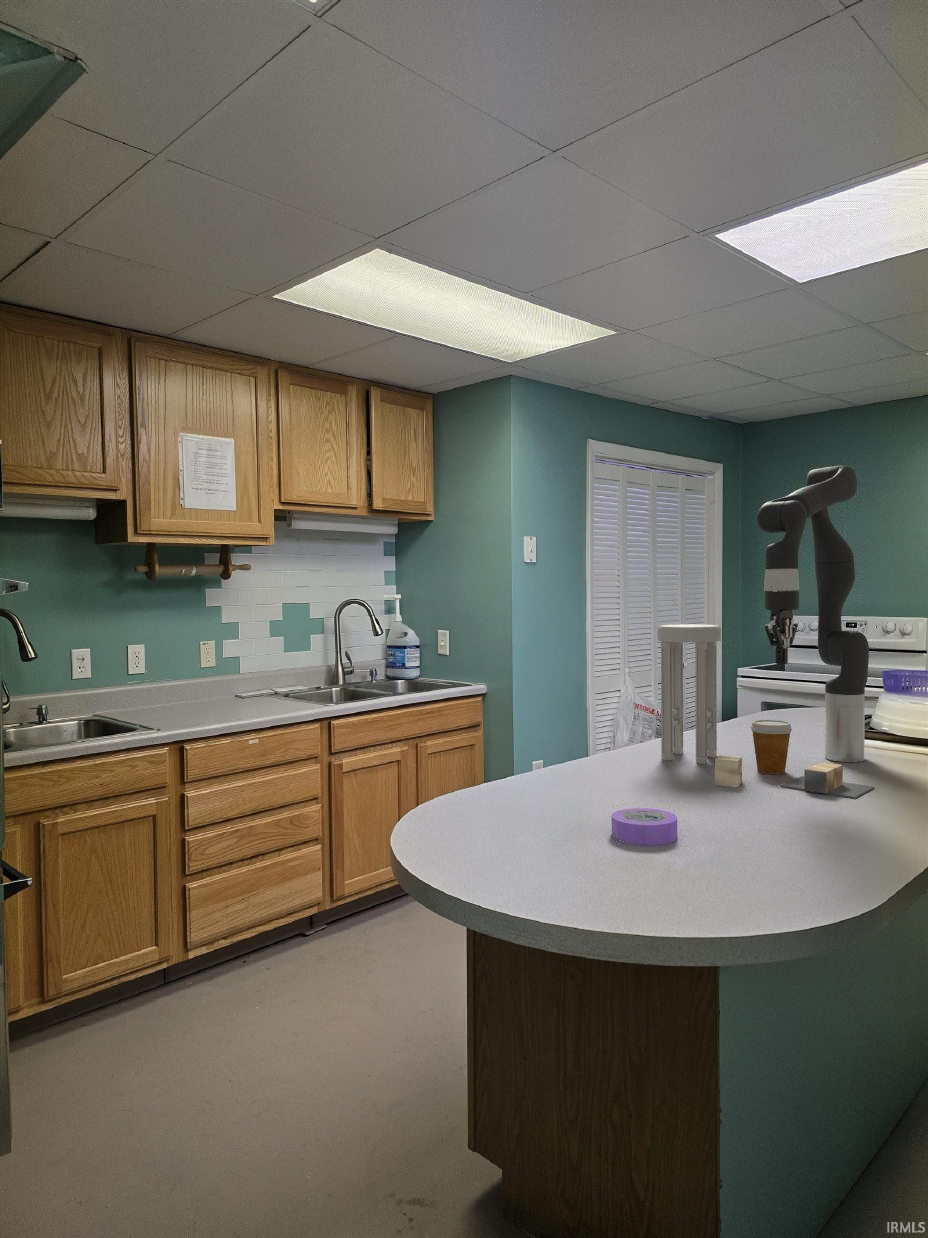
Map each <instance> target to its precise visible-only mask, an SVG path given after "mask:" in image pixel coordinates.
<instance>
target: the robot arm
mask: <svg viewBox="0 0 928 1238" xmlns="http://www.w3.org/2000/svg"><path fill="white" fill-rule="evenodd" d="M805 480H806V482H805V483H806V484H805V486H803V487H802V488H799V489H797V490H794V491H793V492H791V493H790V494H788V495H786V496H784V497H779V498H776V499H772V500H770V501H767V502H765V503H763V504H762V506H760V508H759V509H758V511H757V514H756V524H757V527H758V528H759V529H760V530H761V531H763V532H764V533H767V534H778V533H785V535H784V537H783V538H782V539H781V540H780V541H778V542H774V543H770V544H768V545H767V546H766V547H765V555H764V556H765V558H764V559H765V560H764V561H765V563H764V565H765V572H764V579H763V580H764V583H763V585H764V586H763V589H764V590H763V592H764V593H763V596H764V597H763V598H764V599H763V601H764V603H763V605H764V607H763V608H764V610H766V611H770V616H769V624H765V626H764V629H765V633H766V635H767V638H768V641H769V643H770V644H769V645H770V646H771V647H773V648H774V649H775V664H776V665H779V666H786V665H788V663H789V660H788V659H789V655H788V653H789V649H790V646H792V645H793V644H794V640H795V636H796V633H797V631H798V628H799V624H798V622H794V614H793V611H796V610H799V609H800V574H799V552H800V551H799V550H800V545H801V540H802V537H803V534H804V530H805V527H806V524H807V519H809V518H810V520H811V521H810V523H811V530H812V537H813V538H812V539H813V550H814V551H813V553H814V557H813V558H814V570H815V580H816V591H817V605H818V606H817V607H818V610H817V612H818V613H817V615H818V616H817V617H818V618H817V619H818V620H817V621H818V622H817V623H818V625H817V650H818V655H819V658H820V660H821V661H822V662H823V663H824V664H825V665H827V666H833V667H840V672H839V673H840V674H839V675H838V676H836V677H835V678H832V679H829V680H827V681H826V682H825V685H824V686H825V687H824V689H825V690H824V691H825V693H824V694H825V695H824V697H825V699H824V700H825V701H824V703H825V705H824V706H825V707H824V708H825V711H824V712H825V714H824V715H825V716H824V717H825V718H824V721H825V722H824V728H825V729H824V731H825V732H824V733H825V734H824V737H825V741H824V743H825V745H824V746H825V747H824V751H825V752H824V758H825V759H827V760H830V761H833V762H840V763H842V762H843V763H861V762H864V761H865V710H866V709H865V691H866V690H865V689H866V686H867V683H868V677H869V664H870V663H869V661H870V646H869V642H868V641H869V640H868V638H867V637H866V635H865V634H864V633H862V632H861V631H854V630H853V631H852V630H843V629H842V613H843V607H844V605H845V603H846V600H847V599H848V597H849V595H850V593H851V590H853V589H852V588H853V587H854V584H855V581H856V571H855V569H856V567H855V557H854V552H853V550H852V549H851V547H850V545H849V544H848V543H847V541H846V540H845V539H844V537H843V536H842V534H840V533H839V532H838V530H837V529H836V528H835V526H834V524H833V523H832V521H831V517H830V515H829V511H828V507H830V506H832V505H835V504H837V503H843V502H846V501H847V502H848V501H849V500H851V499H853V497H854V496H855V494H856V492H857V489H858V479H857V475H856V472H855V471H854V468H852V467H851V466H849V465H844V464H843V465H841V464H839V465H834V466H833V465H832V466H826V467H820V468H816V469H815V468H814V469H811V470H810V471H809V472H808V473H807V476H806V479H805Z"/></svg>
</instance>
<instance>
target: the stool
mask: <svg viewBox="0 0 928 1238" xmlns="http://www.w3.org/2000/svg"><path fill="white" fill-rule="evenodd" d="M657 641H658V642H660V703H661V704H660V707H661V708H660V716H661V718H660V726H661V727H660V730H661V731H660V732H661V733H660V734H661V735H660V737H661V738H660V739H661V740H660V742H661V745H660V746H661V749H660V751H661V759H662V760H663V761H671V760H673V758H674V757H673V756H674V755H673V754H674V753H675V755H682V754H683V753H684V643H695V644H694V645H695V660H694V661H695V662H694V663H695V764H702V765H706V764H707V763H708V757H709V758H717V757H718V745H717V744H718V730H717V727H718V726H717V725H718V718H717V716H718V713H717V712H718V710H717V708H718V707H717V705H718V702H717V700H718V699H717V698H718V697H717V695H718V691H717V690H718V689H717V688H718V687H717V686H718V685H717V684H718V683H717V681H718V680H717V679H718V675H717V674H718V673H717V668H718V667H717V664H718V663H717V655H718V654H717V652H718V651H717V649H718V648H717V645H718V644H717V642H721V641H722V628H721V626H720V625H718V624H717V625H716V624H701V623H700V624H696V623H695V624H693V623H692V624H688V623H687V624H686V623H685V624H663V625H662V624H661V625H658V627H657Z"/></svg>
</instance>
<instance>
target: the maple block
mask: <svg viewBox="0 0 928 1238" xmlns="http://www.w3.org/2000/svg"><path fill="white" fill-rule="evenodd" d="M714 768H715V769H714V773H715V774H714V780H715V781H714V782H715V783H714V784H715V786H725V787H733V788H738V787H740V785H741V784H742V783H743V756H737V755H726V754H725V755H724V754H719V755H717V756H716V757H715V759H714Z"/></svg>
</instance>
